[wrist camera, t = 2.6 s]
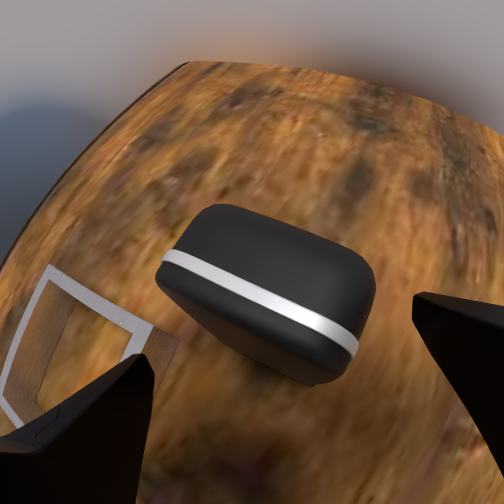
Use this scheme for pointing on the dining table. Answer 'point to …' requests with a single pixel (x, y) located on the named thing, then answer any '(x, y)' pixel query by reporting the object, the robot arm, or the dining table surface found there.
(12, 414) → the hollow square metal frame
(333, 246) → the battery charger
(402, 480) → the dining table surface
